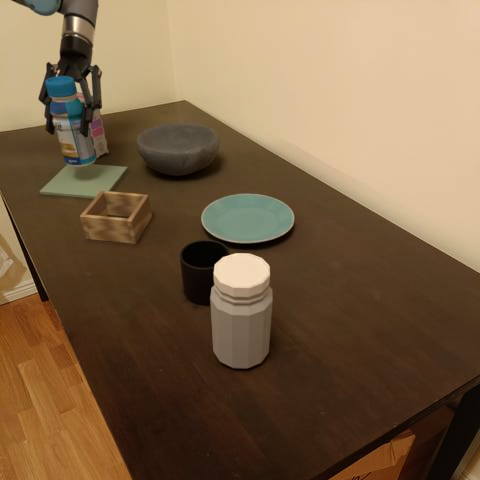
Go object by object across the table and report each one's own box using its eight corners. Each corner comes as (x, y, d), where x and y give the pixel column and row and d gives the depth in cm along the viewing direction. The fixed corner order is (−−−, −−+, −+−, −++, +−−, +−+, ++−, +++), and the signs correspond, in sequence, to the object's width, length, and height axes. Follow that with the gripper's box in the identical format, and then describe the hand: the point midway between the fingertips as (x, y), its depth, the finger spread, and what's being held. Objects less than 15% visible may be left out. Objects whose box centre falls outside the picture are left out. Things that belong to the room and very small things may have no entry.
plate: (186, 241, 99) (185, 230, 97) (222, 196, 114) (221, 186, 112) (278, 261, 93) (279, 250, 91) (303, 211, 108) (304, 201, 106)
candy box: (110, 152, 133) (98, 95, 121) (96, 159, 129) (82, 101, 118) (79, 143, 138) (64, 87, 127) (64, 149, 135) (48, 92, 123)
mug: (218, 264, 92) (216, 228, 86) (237, 299, 84) (237, 262, 78) (175, 274, 90) (170, 237, 84) (191, 310, 82) (187, 273, 76)
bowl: (208, 148, 135) (206, 115, 128) (229, 180, 120) (229, 144, 113) (135, 158, 130) (129, 124, 123) (147, 192, 115) (142, 156, 108)
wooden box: (86, 239, 99) (79, 216, 95) (106, 212, 108) (100, 190, 103) (135, 244, 98) (131, 221, 94) (152, 216, 106) (148, 194, 102)
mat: (40, 194, 114) (39, 191, 114) (70, 164, 127) (69, 162, 126) (104, 199, 112) (103, 197, 112) (128, 169, 125) (127, 166, 124)
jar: (223, 326, 79) (220, 244, 66) (274, 337, 77) (282, 255, 64) (205, 365, 72) (198, 283, 60) (260, 378, 70) (266, 296, 58)
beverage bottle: (98, 166, 114) (78, 83, 100) (64, 170, 112) (40, 86, 98) (96, 153, 119) (77, 73, 105) (64, 156, 118) (41, 75, 104)
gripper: (123, 55, 110) (112, 142, 110) (46, 51, 112) (36, 137, 112) (111, 35, 102) (99, 129, 102) (29, 31, 105) (18, 123, 105)
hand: (66, 133), depth 107 cm, fingers closed on beverage bottle, 8 cm apart
